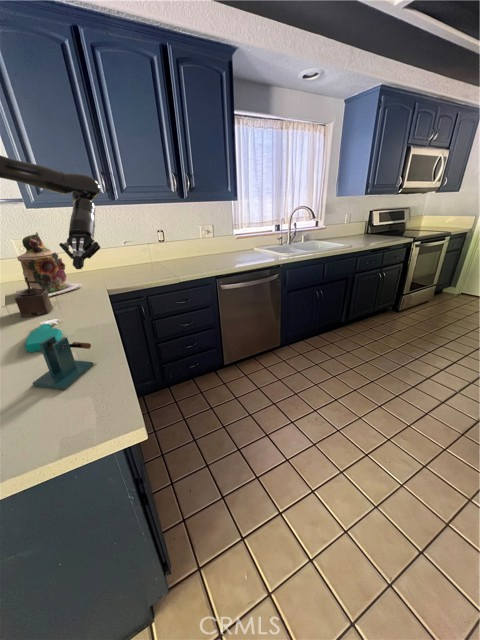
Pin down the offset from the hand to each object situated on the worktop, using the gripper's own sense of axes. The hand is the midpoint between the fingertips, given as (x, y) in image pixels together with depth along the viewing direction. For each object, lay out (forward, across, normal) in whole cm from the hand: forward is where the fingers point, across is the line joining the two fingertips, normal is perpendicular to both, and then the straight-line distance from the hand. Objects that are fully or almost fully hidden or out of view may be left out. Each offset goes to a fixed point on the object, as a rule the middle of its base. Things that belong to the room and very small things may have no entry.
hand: (77, 268), depth 88 cm
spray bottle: (+15, -20, +23) cm, 34 cm away
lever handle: (+28, -1, +1) cm, 28 cm away
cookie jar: (-27, -46, +65) cm, 84 cm away
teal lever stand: (+35, -2, +3) cm, 35 cm away
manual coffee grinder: (-4, -34, +43) cm, 55 cm away
